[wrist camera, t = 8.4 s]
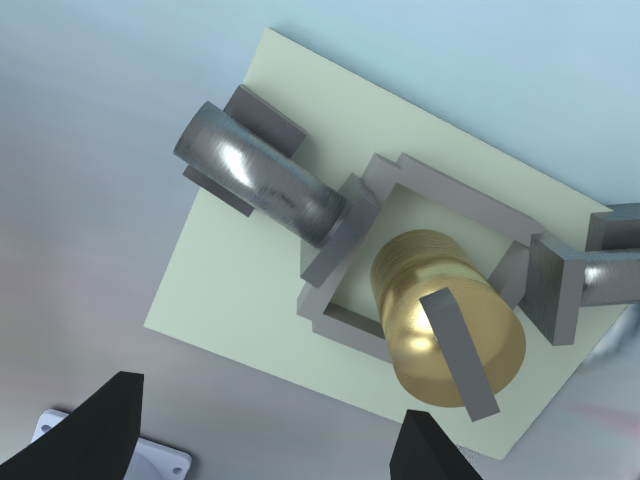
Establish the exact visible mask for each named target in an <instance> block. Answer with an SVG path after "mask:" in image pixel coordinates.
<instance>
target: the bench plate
mask: <svg viewBox="0 0 640 480" xmlns="http://www.w3.org/2000/svg"><path fill="white" fill-rule="evenodd" d="M243 85H245V86H246V87H247V88H249V89H250V90H251V91H253V92H254V93H256V94H257V95H258V96H260V97H261V98H262V99H264V100H265V101H266V102H268V103H269V104H271V105H272V106H273V107H275V108H276V109H277V110H279V111H280V112H281V113H283V114H284V115H286V116H287V117H288V118H290V119H291V120H292V121H294V122H295V123H296V124H298V125H299V126H301V127H302V128H303V129H305V130H306V131H307V136H306V137H305V138H304V140H303V141H302V143H301V144H300V146H299V147H298V148H297V150H296V151H295V153H294V154H293V155H292V157H291V158H290V159H291V160H293V161H294V162H296V163H297V164H299V165H300V166H301V167H303V168H304V169H306V170H307V171H308V172H310V173H311V174H313V175H314V176H316V177H317V178H318V179H320V180H321V181H323V182H324V183H325V184H327V185H328V186H330V187H331V188H332V189H334V190H335V191H337V192H338V190H339V189H340V188H341V186H342V185H343V184H344V182H345V181H346V180H347V179H348V177H349V176H350V175H351V173H352V172H353V173H354V174H356V175H357V176H359V177H360V178H361V179H363V181H364V184H365V186H367V187H368V188H369V189H371V190H372V192H373V194H374V196H375V198H376V200H377V202H378V204H379V206H380V208H381V210H382V211H381V212H380V213H379V214H378V216H377V217H376V218H375V219H374V221H373V222H372V223H371V224H370V226H369V227H368V228H367V229H366V231H365V232H364V233H363V234H362V235H361V237H360V238H359V239H358V240H357V242H356V243H355V244H354V245H353V247H352V248H351V249H350V250H349V252H348V253H347V254H346V255H345V257H344V258H343V259H342V260H341V262H340V263H339V264H338V265H337V266H336V268H335V269H334V270H333V271H332V273H331V274H330V275H329V276H328V278H327V279H326V280H325V281H324V283H323V284H322V285H321V286H320V288H319V289H317V288H316V287H314V286H313V285H311V284H310V283H308V282H306V281H305V280H303V279H302V278H300V248H301V238H300V237H298V236H297V235H295V234H294V233H292V232H291V231H289V230H288V229H286V228H285V227H283V226H282V225H280V224H279V223H277V222H276V221H274V220H273V219H271V218H270V217H268V216H267V215H265V214H263V213H262V212H260V211H259V210H257V209H256V208H255V209H254V211H253V212H252V213H251V215H250V216H249V218H248V217H247V216H245V215H244V214H242V213H240V212H239V211H237V210H236V209H234V208H233V207H231V206H230V205H228V204H227V203H225V202H224V201H222V200H221V199H219V198H218V197H216V196H214V195H213V194H211V193H210V192H208V191H207V190H205V189H204V188H202V187H201V186H200V189H199V191H198V194H197V196H196V199H195V201H194V203H193V206H192V208H191V211H190V213H189V216H188V218H187V221H186V223H185V225H184V228H183V230H182V233H181V235H180V238H179V240H178V242H177V245H176V247H175V250H174V252H173V255H172V257H171V260H170V262H169V264H168V267H167V269H166V272H165V274H164V277H163V279H162V282H161V284H160V286H159V289H158V291H157V294H156V296H155V299H154V301H153V303H152V306H151V308H150V311H149V313H148V316H147V318H146V321H145V323H144V325H143V326H144V327H147V328H150V329H152V330H155V331H158V332H160V333H163V334H166V335H168V336H171V337H173V338H176V339H179V340H181V341H184V342H187V343H189V344H192V345H195V346H197V347H200V348H203V349H205V350H208V351H211V352H213V353H216V354H219V355H221V356H224V357H226V358H229V359H232V360H234V361H237V362H240V363H242V364H245V365H248V366H250V367H253V368H256V369H258V370H261V371H264V372H266V373H269V374H271V375H274V376H277V377H279V378H282V379H285V380H287V381H290V382H293V383H295V384H298V385H301V386H303V387H306V388H309V389H311V390H314V391H317V392H319V393H322V394H324V395H327V396H330V397H332V398H335V399H338V400H340V401H343V402H346V403H348V404H351V405H354V406H356V407H359V408H362V409H364V410H367V411H370V412H372V413H375V414H377V415H380V416H383V417H385V418H388V419H391V420H393V421H396V422H399V423H401V424H403V421H404V418H405V414H406V411H407V409H411V410H419V411H426V412H429V413H430V414H431V416H432V417H433V418H434V419H435V421H436V422H437V423H438V424H439V426H440V427H441V428H442V429H443V431H444V432H445V433H446V435H447V436H448V437H449V438H450V440H451V441H452V442H453V443H454V444H457V445H460V446H462V447H465V448H468V449H470V450H473V451H475V452H478V453H481V454H483V455H486V456H489V457H491V458H494V459H497V460H499V461H502V459H503V458H504V457H505V456H506V454H507V453H508V452H509V451H510V449H511V448H512V447H513V446H514V445H515V443H516V442H517V441H518V440H519V438H520V437H521V436H522V435H523V434H524V432H525V431H526V430H527V429H528V427H529V426H530V425H531V424H532V422H533V421H534V420H535V419H536V418H537V416H538V415H539V414H540V413H541V411H542V410H543V409H544V408H545V407H546V405H547V404H548V403H549V402H550V400H551V399H552V398H553V397H554V395H555V394H556V393H557V392H558V391H559V389H560V388H561V387H562V386H563V384H564V383H565V382H566V381H567V379H568V378H569V377H570V376H571V375H572V373H573V372H574V371H575V370H576V368H577V367H578V366H579V365H580V364H581V362H582V361H583V360H584V359H585V357H586V356H587V355H588V354H589V352H590V351H591V350H592V349H593V348H594V346H595V345H596V344H597V343H598V341H599V340H600V339H601V338H602V337H603V335H604V334H605V333H606V332H607V330H608V329H609V328H610V327H611V325H612V324H613V323H614V322H615V321H616V319H617V318H618V317H619V316H620V314H621V313H622V312H623V311H624V309H625V308H626V307H627V306H628V305H629V304H621V305H608V306H595V307H592V306H591V307H579V314H578V320H577V327H576V333H575V339H574V345H563V346H552V345H551V344H550V342H549V341H548V340H547V339H546V338H545V337H544V335H543V334H542V333H541V332H540V331H539V330H538V328H537V327H536V326H535V325H534V324H533V323H532V322H531V320H530V319H529V318H528V317H527V316H526V315H525V313H524V312H523V311H522V310H521V309H520V308H519V306H518V305H517V304H518V303H519V302H520V300H521V299H522V298H523V296H524V295H525V288H526V278H527V269H528V260H529V250H527V249H526V248H525V247H524V246H523V245H522V244H524V245H526V246H528V247H530V241H531V234H540V233H542V232H543V231H544V230H545V229H546V230H548V231H549V232H551V233H552V234H553V235H555V236H556V237H558V238H559V239H560V240H562V241H563V242H565V243H566V244H567V245H569V246H570V247H572V248H573V249H574V250H576V251H577V252H585V247H586V240H587V234H588V227H589V221H590V214H591V213H597V212H610V211H613V210H611V209H609V208H608V207H606V206H604V205H602V204H600V203H598V202H596V201H594V200H592V199H591V198H589V197H587V196H585V195H583V194H581V193H579V192H577V191H575V190H574V189H572V188H570V187H568V186H566V185H564V184H562V183H560V182H558V181H556V180H555V179H553V178H551V177H549V176H547V175H545V174H543V173H541V172H539V171H538V170H536V169H534V168H532V167H530V166H528V165H526V164H524V163H522V162H521V161H519V160H517V159H515V158H513V157H511V156H509V155H507V154H505V153H503V152H502V151H500V150H498V149H496V148H494V147H492V146H490V145H488V144H486V143H485V142H483V141H481V140H479V139H477V138H475V137H473V136H471V135H469V134H468V133H466V132H464V131H462V130H460V129H458V128H456V127H454V126H452V125H451V124H449V123H447V122H445V121H443V120H441V119H439V118H437V117H435V116H433V115H432V114H430V113H428V112H426V111H424V110H422V109H420V108H418V107H416V106H415V105H413V104H411V103H409V102H407V101H405V100H403V99H401V98H399V97H398V96H396V95H394V94H392V93H390V92H388V91H386V90H384V89H382V88H380V87H379V86H377V85H375V84H373V83H371V82H369V81H367V80H365V79H363V78H362V77H360V76H358V75H356V74H354V73H352V72H350V71H348V70H346V69H345V68H343V67H341V66H339V65H337V64H335V63H333V62H331V61H329V60H327V59H326V58H324V57H322V56H320V55H318V54H316V53H314V52H312V51H310V50H309V49H307V48H305V47H303V46H301V45H299V44H297V43H295V42H293V41H292V40H290V39H288V38H286V37H284V36H282V35H280V34H278V33H276V32H274V31H273V30H271V29H269V28H267V27H266V28H265V30H264V33H263V35H262V37H261V40H260V42H259V45H258V47H257V50H256V52H255V55H254V57H253V59H252V62H251V64H250V67H249V69H248V72H247V74H246V77H245V79H244V81H243ZM419 229H428V230H434V231H438V232H441V233H443V234H446V235H447V236H449V237H451V238H452V239H453V240H454V241H456V242H457V244H458V245H459V246H460V247H461V248H462V249H463V251H464V252H465V253H466V254H467V256H468V257H469V258H470V259H471V261H472V262H473V263H474V264H475V266H476V267H477V268H478V269H479V270H480V272H481V273H482V274H483V275H484V277H485V278H486V279H487V280H488V282H489V283H490V284H491V285H492V287H493V288H494V289H495V290H496V292H497V293H498V294H499V295H500V296H501V298H502V299H503V300H504V301H505V303H506V304H507V305H508V306H509V308H510V309H511V310H512V311H513V313H514V314H515V315H516V316H517V318H518V319H519V321H520V322H521V324H522V327H523V329H524V332H525V336H526V353H525V357H524V360H523V363H522V366H521V367H520V369H519V371H518V373H517V374H516V376H515V377H514V379H513V380H512V381H511V382H510V383H509V384H508V385H507V386H506V387H505V388H504V389H503V390H501V391H500V392H499V393H497V394H496V395H494V396H495V399H496V402H497V404H498V407H499V409H500V413H497V414H494V415H491V416H489V417H486V418H483V419H480V420H477V421H475V422H472V421H471V419H470V417H469V414H468V412H467V410H466V408H465V407H457V408H445V407H437V406H433V405H429V404H427V403H424V402H422V401H420V400H418V399H416V398H415V397H413V396H412V395H410V394H409V393H408V392H407V391H406V390H405V389H404V388H403V386H402V385H401V384H400V382H399V380H398V379H397V377H396V374H395V371H394V368H393V364H392V360H391V357H390V353H389V350H388V346H387V342H386V339H385V335H384V331H383V328H382V324H381V321H380V317H379V313H378V310H377V306H376V302H375V299H374V295H373V292H372V288H371V283H370V272H371V267H372V264H373V261H374V259H375V257H376V255H377V254H378V252H379V251H380V249H381V248H382V247H383V246H384V245H385V244H386V243H387V242H389V241H390V240H391V239H393V238H394V237H396V236H398V235H400V234H402V233H405V232H408V231H412V230H419ZM520 243H521V244H520Z"/></svg>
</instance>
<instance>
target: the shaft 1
mask: <svg viewBox="0 0 640 480" xmlns="http://www.w3.org/2000/svg"><path fill="white" fill-rule="evenodd" d="M306 136H307V131H306V130H305V129H303V128H302V127H301V126H299V125H298V124H296V123H295V122H294V121H292V120H291V119H290V118H288V117H287V116H286V115H284V114H283V113H281V112H280V111H279V110H277V109H276V108H275V107H273V106H272V105H271V104H269V103H268V102H266V101H265V100H264V99H262V98H261V97H260V96H258V95H257V94H256V93H254V92H253V91H251V90H250V89H249V88H247V87H246V86H245V85H243V84H242V85H239V86H238V88H237V89H236V91H235V92H234V94H233V96H232V97H231V99H230V100H229V102H228V103H227V105H226V107H225V108H224V110H223V111H222V110H221V109H219V108H218V107H217V106H215V105H214V104H212V103H211V102H209V101H207V102H206V103H205V104H204V105H203V106H202V107H201V108H200V109H199V111H198V112H197V113H196V115H195V116H194V117H193V119H192V120H191V122H190V123H189V125H188V126H187V128H186V129H185V131H184V132H183V134H182V136H181V137H180V139H179V141H178V143H177V145H176V147H175V149H174V152H173V154H174V155H176V156H177V157H179V158H180V159H182V160H183V161H185V162H186V163H188V164H189V165H188V166H187V168H186V170H185V171H184V173H183V174H182V175H184V176H185V177H187V178H188V179H190V180H192V181H193V182H195V183H196V184H198V185H199V186H201V187H202V188H204V189H205V190H207V191H208V192H210V193H211V194H213V195H214V196H216V197H218V198H219V199H221V200H222V201H224V202H225V203H227V204H228V205H230V206H231V207H233V208H234V209H236V210H237V211H239V212H240V213H242V214H244V215H245V216H247V217H248V218H249V216H250V215H251V213H252V212H253V211H254V209H255V208H256V209H257V210H259V211H260V212H262V213H263V214H265V215H267V216H268V217H270V218H271V219H273V220H274V221H276V222H277V223H279V224H280V225H282V226H283V227H285V228H286V229H288V230H289V231H291V232H292V233H294V234H295V235H297V236H298V237H300V238H301V248H300V278H302V279H303V280H305V281H306V282H308V283H310V284H311V285H313V286H314V287H316V288H317V289H319V288H320V286H321V285H322V284H323V283H324V281H325V280H326V279H327V278H328V276H329V275H330V274H331V273H332V271H333V270H334V269H335V268H336V266H337V265H338V264H339V263H340V262H341V260H342V259H343V258H344V257H345V255H346V254H347V253H348V252H349V250H350V249H351V248H352V247H353V245H354V244H355V243H356V242H357V240H358V239H359V238H360V237H361V235H362V234H363V233H364V232H365V231H366V229H367V228H368V227H369V226H370V224H371V223H372V222H373V221H374V219H375V218H376V217H377V216H378V214H379V213H380V212H381V211H382V210H381V208H380V206H379V204H378V202H377V200H376V198H375V196H374V194H373V192H372V190H371V189H369V188H368V187H367V186H365V184H364V181H363V179H361V178H360V177H359V176H357V175H356V174H354V173H353V172H352V173H351V175H350V176H349V177H348V179H347V180H346V181H345V182H344V184H343V185H342V186H341V188H340V189H339V190H338V192H337V191H335V190H334V189H332V188H331V187H330V186H328V185H327V184H325V183H324V182H323V181H321V180H320V179H318V178H317V177H316V176H314V175H313V174H311V173H310V172H308V171H307V170H306V169H304V168H303V167H301V166H300V165H299V164H297V163H296V162H294V161H293V160H291V159H290V158H291V157H292V155H293V154H294V153H295V151H296V150H297V148H298V147H299V146H300V144H301V143H302V141H303V140H304V138H305V137H306Z"/></svg>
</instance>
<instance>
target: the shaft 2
mask: <svg viewBox="0 0 640 480" xmlns="http://www.w3.org/2000/svg"><path fill="white" fill-rule="evenodd" d="M606 207H608V208H609V209H611V210H613V211H610V212H597V213H591V214H590V221H589V227H588V234H587V240H586V247H585V252H577V251H576V250H574V249H573V248H572V247H570V246H569V245H567V244H566V243H565V242H563V241H562V240H560V239H559V238H558V237H556V236H555V235H553V234H552V233H551V232H549V231H548V230H546V229H545V230H544V231H543V232H542V233H540V234H531V241H530V247H528V246H526V245H524V244H522V245H523V246H524V247H525V248H526V249H527V250H529V260H528V269H527V278H526V288H525V295H524V296H523V298H522V299H521V300H520V302H519V303H518V304H517V305H518V306H519V308H520V309H521V310H522V311H523V312H524V313H525V315H526V316H527V317H528V318H529V319H530V320H531V322H532V323H533V324H534V325H535V326H536V327H537V328H538V330H539V331H540V332H541V333H542V334H543V335H544V337H545V338H546V339H547V340H548V341H549V342H550V344H551V345H552V346H563V345H574V339H575V333H576V327H577V320H578V314H579V307H591V306H592V307H595V306H608V305H621V304H635V303H640V203H633V204H619V205H606ZM520 244H521V243H520Z"/></svg>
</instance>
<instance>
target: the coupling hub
mask: <svg viewBox="0 0 640 480" xmlns="http://www.w3.org/2000/svg"><path fill="white" fill-rule="evenodd" d="M370 283H371V288H372V292H373V295H374V299H375V302H376V306H377V310H378V313H379V317H380V321H381V324H382V328H383V331H384V335H385V339H386V342H387V346H388V350H389V353H390V357H391V360H392V364H393V368H394V371H395V374H396V377H397V379H398V380H399V382H400V384H401V385H402V386H403V388H404V389H405V390H406V391H407V392H408V393H409V394H410V395H412V396H413V397H415V398H416V399H418V400H420V401H422V402H424V403H427V404H429V405H433V406H437V407H445V408H457V407H465V408H466V410H467V412H468V414H469V417H470V419H471V421H472V422H475V421H477V420H480V419H483V418H486V417H489V416H491V415H494V414H497V413H500V409H499V407H498V404H497V402H496V399H495V396H494V395H496V394H497V393H499V392H500V391H501V390H503V389H504V388H505V387H506V386H507V385H508V384H509V383H510V382H511V381H512V380H513V379H514V377H515V376H516V374H517V373H518V371H519V369H520V367H521V366H522V363H523V360H524V357H525V353H526V336H525V332H524V329H523V327H522V324H521V322H520V321H519V319H518V318H517V316H516V315H515V314H514V313H513V311H512V310H511V309H510V308H509V306H508V305H507V304H506V303H505V301H504V300H503V299H502V298H501V296H500V295H499V294H498V293H497V292H496V290H495V289H494V288H493V287H492V285H491V284H490V283H489V282H488V280H487V279H486V278H485V277H484V275H483V274H482V273H481V272H480V270H479V269H478V268H477V267H476V266H475V264H474V263H473V262H472V261H471V259H470V258H469V257H468V256H467V254H466V253H465V252H464V251H463V249H462V248H461V247H460V246H459V245H458V244H457V242H456V241H454V240H453V239H452V238H451V237H449V236H447V235H446V234H443V233H441V232H438V231H434V230H428V229H419V230H412V231H408V232H405V233H402V234H400V235H398V236H396V237H394V238H393V239H391V240H390V241H389V242H387V243H386V244H385V245H384V246H383V247H382V248H381V249H380V251H379V252H378V254H377V255H376V257H375V259H374V261H373V264H372V267H371V272H370Z"/></svg>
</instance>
